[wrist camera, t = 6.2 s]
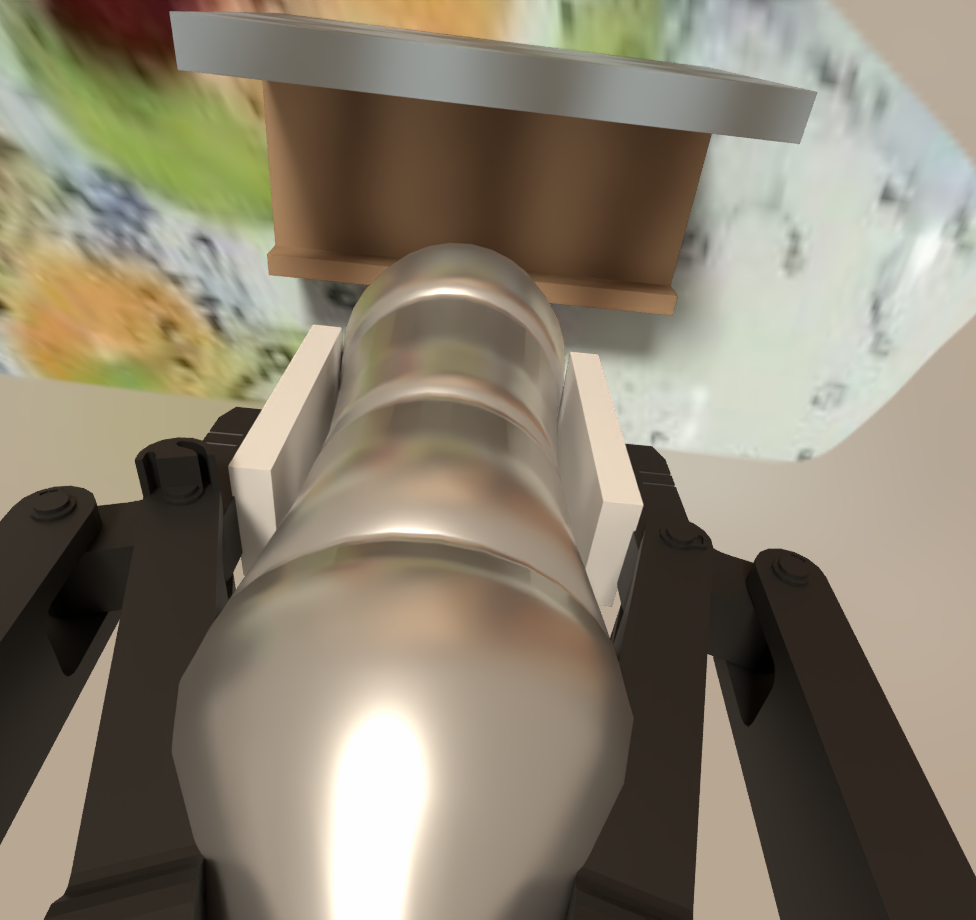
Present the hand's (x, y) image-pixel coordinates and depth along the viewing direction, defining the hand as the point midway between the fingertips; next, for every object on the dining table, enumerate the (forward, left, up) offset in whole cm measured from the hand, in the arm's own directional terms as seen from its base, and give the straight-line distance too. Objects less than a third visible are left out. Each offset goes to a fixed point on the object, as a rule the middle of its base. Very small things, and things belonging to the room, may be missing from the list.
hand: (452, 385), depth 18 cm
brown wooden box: (+1, +2, -20) cm, 20 cm away
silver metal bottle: (0, 0, -4) cm, 4 cm away
